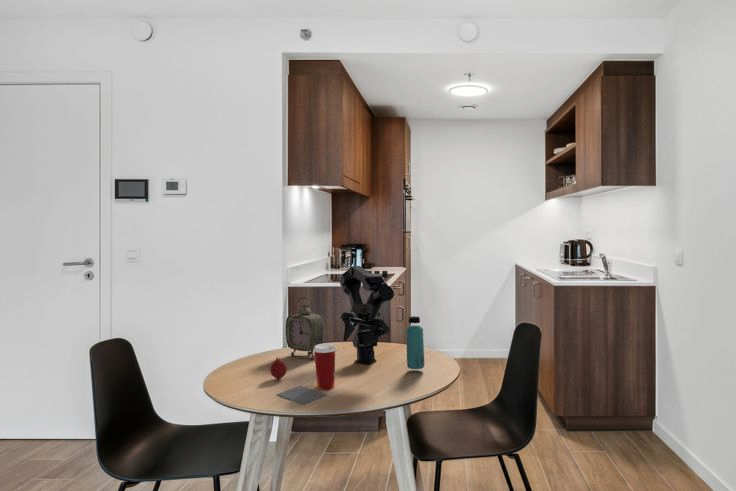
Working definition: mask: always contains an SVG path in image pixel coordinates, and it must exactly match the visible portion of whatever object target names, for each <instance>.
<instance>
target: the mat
mask: <svg viewBox="0 0 736 491" xmlns="http://www.w3.org/2000/svg"><path fill="white" fill-rule="evenodd" d="M276 395H277V396H278V397H281V398H285V399H287V400H290V401H292V402H295V403H298V404H301V405H305V404H308V403H311V402H313V401H315V400H318V399H321V398H323V397H326V396H327V395H328V394H327V393H324V392H322V391H320V390H319V391H318V390H315V389H312V388H309V387H306V386H304V385H299V386H296V387H293V388H290V389H286V390H284V391H281V392H279V393H276Z"/></svg>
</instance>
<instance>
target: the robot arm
mask: <svg viewBox="0 0 736 491" xmlns="http://www.w3.org/2000/svg"><path fill="white" fill-rule="evenodd" d="M339 285H340V287H341V289H342V291H343V292H344V293H345V294H346V295H347V296H348V298H349V302H350V305H351V309H350V312H346V311H345V312H343V313H342V314H341V315H340V319H341V320H342V322H343V323H344V332H343V338H342V339H343V341H344V342H347V341H348V339H349V338H350V336H351V335H352V334H353V333H355V334H354V336H353V340H352V347H354V348H356V359H355V360H354V363H358V364H361V365H370V364H372V363H375V362H377V359H375V349H374V347H377V346H378V343H379V342H378V341H379V338H380V337H381V336H384V335H388V333H389V331H390V326H389V324H387V322H386V321H385V320H384V319H380V318H377V317H380V315H381V313H380V312H381V311H380V310H381V309H382V307H383V305H385V304H386V303H388V302H390V301H392V299H393V298H394V296H395V291H394V290H393V288H392V287H391V286H389V284H388V283H387V281H386V279H385V278H384V277H383V275H382V274H381V273H371V272H370V271H368V270H366V269H365V268H363V267H362V266H360V265H353V266H349V268H348V270H346V271H345V272H343V273H342V274H341V276H340V278H339ZM361 287H362V288H363V289H364V290H366V292H367V291H368V292H370V294H369V296H368V299H367V300H366V302H365V303H363V302H364V301H363V299H362V295H361V292H360V290H361ZM356 326H357V327H356ZM355 327H356V328H355ZM354 331H355V332H354Z"/></svg>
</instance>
